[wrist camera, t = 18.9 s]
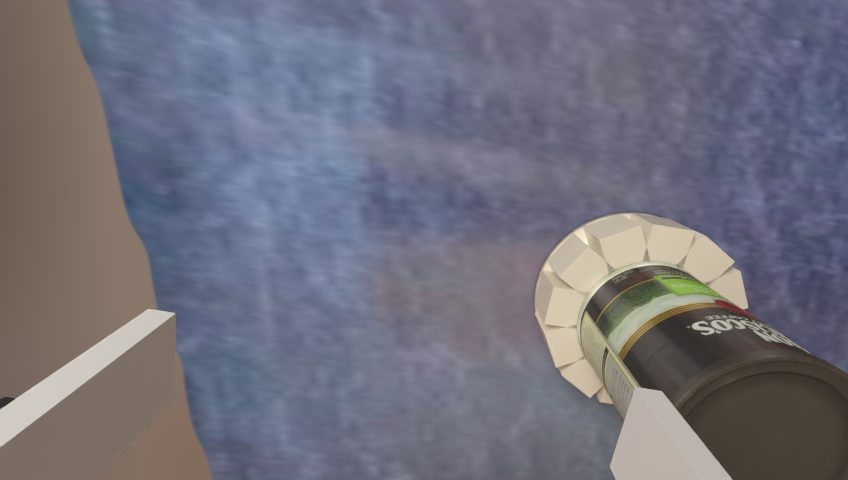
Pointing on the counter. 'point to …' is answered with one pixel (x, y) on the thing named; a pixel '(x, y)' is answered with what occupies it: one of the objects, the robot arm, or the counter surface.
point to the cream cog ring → (601, 255)
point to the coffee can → (717, 373)
